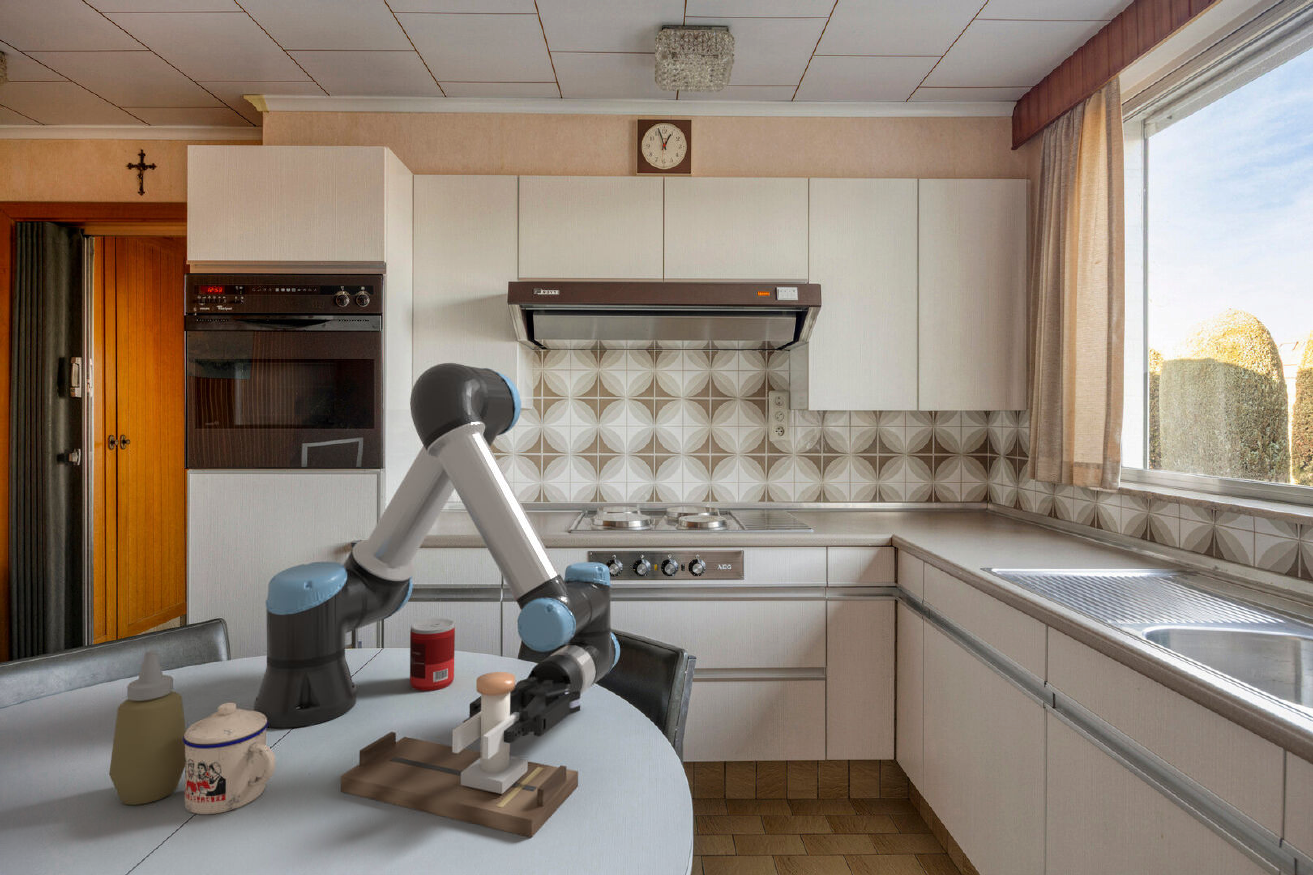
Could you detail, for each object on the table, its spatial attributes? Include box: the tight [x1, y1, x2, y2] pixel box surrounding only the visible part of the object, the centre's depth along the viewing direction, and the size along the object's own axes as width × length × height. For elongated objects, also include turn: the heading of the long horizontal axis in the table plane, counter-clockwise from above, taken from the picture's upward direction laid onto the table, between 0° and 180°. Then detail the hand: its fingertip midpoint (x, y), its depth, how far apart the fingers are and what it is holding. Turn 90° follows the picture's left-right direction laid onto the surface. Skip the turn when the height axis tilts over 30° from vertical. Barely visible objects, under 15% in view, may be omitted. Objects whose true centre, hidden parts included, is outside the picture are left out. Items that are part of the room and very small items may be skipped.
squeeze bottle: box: [108, 650, 187, 806], centre depth 86 cm, size 8×8×18 cm
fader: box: [461, 671, 529, 794], centre depth 86 cm, size 6×6×13 cm
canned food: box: [409, 618, 456, 692], centre depth 124 cm, size 8×8×11 cm
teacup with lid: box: [183, 702, 277, 815], centre depth 85 cm, size 12×9×12 cm
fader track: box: [340, 731, 579, 838], centre depth 88 cm, size 28×12×4 cm, turn 71°
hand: (470, 744), depth 81 cm, fingers closed on fader, 4 cm apart
